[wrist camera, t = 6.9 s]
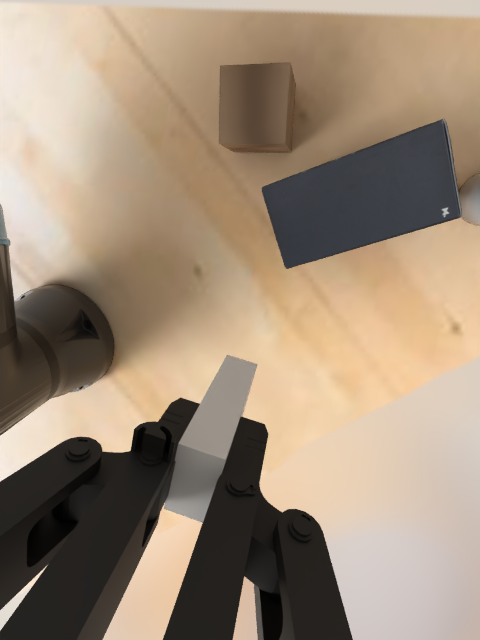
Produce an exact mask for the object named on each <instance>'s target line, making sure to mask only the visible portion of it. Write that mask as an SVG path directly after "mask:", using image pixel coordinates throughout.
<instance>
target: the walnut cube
mask: <svg viewBox="0 0 480 640" xmlns="http://www.w3.org/2000/svg"><path fill="white" fill-rule="evenodd" d="M295 88H296V84H295V80H294V76H293V72H292V67H291V63H271V64H248V65H226V66H220V112H219V144H221V145H223V146H225V147H226V148H228V149H230V150H232V151H233V152H291V144H292V130H293V116H294V102H295Z"/></svg>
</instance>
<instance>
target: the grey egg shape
mask: <svg viewBox="0 0 480 640" xmlns="http://www.w3.org/2000/svg"><path fill="white" fill-rule="evenodd" d="M459 197H460V202H461V208H462V216H461V217H462V218H463V219H464V220H465V221H466V222H468V223H470V224H474V225H479V226H480V173H478V174H476V175H474V176H472V177H471V178H469V179H468V180H467V181H466V182H465V183H464V184H463V186H462V187H461V189H460V191H459Z"/></svg>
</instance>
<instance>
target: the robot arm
mask: <svg viewBox="0 0 480 640" xmlns="http://www.w3.org/2000/svg"><path fill="white" fill-rule="evenodd" d="M9 245H10V240H9V239H8V238H7V233H6V227H5V222H4V216H3V210H2V206H1V204H0V435H2V434H3V433H4V432H6V431H7V430H8V429H10V428H11V427H12V426H14V425H15V424H17V423H18V422H19V421H21V420H22V419H23V418H25V417H26V416H27V415H29V414H30V413H31V412H33V411H34V410H35V409H37V408H38V407H39V406H41V405H42V404H43V403H45V402H46V401H48V400H49V399H51V398H54V397H58V396H61V395H64V394H67V393H69V392H75V391H79V390H82V389H85V388H87V387H89V386H90V385H92V384H93V383H95V382H96V381H97V380H98V379H100V378H101V377H102V376H103V375H104V374H105V373H106V372H107V370H108V369H109V367H110V365H111V363H112V359H113V354H114V341H113V335H112V332H111V329H110V326H109V324H108V322H107V320H106V318H105V316H104V314H103V313H102V312H101V310H100V309H99V308H98V307H97V305H96V304H95V303H94V302H93V301H92V300H90V299H89V298H88V297H87V296H85V295H84V294H82V293H81V292H79V291H77V290H75V289H73V288H70V287H67V286H63V285H47V286H43V287H39V288H36V289H33V290H30V291H28V292H26V293H24V294H23V295H21V296H20V297H19V298H18V299H17V300H16V301H15V302H14V296H13V287H12V278H11V268H10V257H9ZM256 368H257V364H255V363H252V362H249V361H245V360H242V359H239V358H236V357H233V356H229V355H227V356H226V358H225V360H224V362H223V363H222V365H221V367H220V369H219V371H218V372H217V374H216V376H215V378H214V380H213V382H212V383H211V385H210V387H209V389H208V391H207V392H206V394H205V396H204V398H203V400H202V402H201V403H200V404H198V403H195V402H192V401H189V400H186V399H183V398H179V399H178V400H176V401H174V402H172V403H171V404H170V405H169V407H168V408H167V410H166V411H165V413H164V414H163V415H162V417H161V419H160V420H159V421H158V422H146V423H143V424H140V425H139V426H137V427H136V428H135V429H134V434H133V440H132V447H131V451H129V452H124V453H113V452H102V447H101V445H100V444H99V443H98V442H97V441H96V440H94V439H91V438H89V437H75V438H70V439H68V440H66V441H64V442H62V443H60V444H59V445H57V446H56V447H54V448H52V449H51V450H49V451H48V452H46V453H45V454H43V455H42V456H40V457H38V458H37V459H35V460H34V461H32V462H31V463H29V464H27V465H26V466H24V467H23V468H21V469H20V470H18V471H16V472H15V473H13V474H12V475H10V476H9V477H7V478H5V479H4V480H2V481H1V482H0V610H1V609H2V608H3V607H4V606H5V605H6V604H7V603H8V602H9V601H10V600H11V599H12V598H13V597H14V596H15V595H16V594H17V593H19V592H20V591H21V590H22V589H23V588H24V587H25V586H26V585H27V584H28V583H29V582H30V581H31V580H32V579H33V578H34V577H35V576H36V575H37V574H38V573H39V572H40V571H42V570H43V569H44V568H45V567H46V566H47V565H48V566H47V567H46V568H45V570H44V571H43V573H42V574H41V575H40V577H39V578H38V580H37V581H36V582H35V584H34V585H33V586H32V588H31V589H30V591H29V592H28V593H27V595H26V596H25V598H24V599H23V600H22V602H21V603H20V604H19V606H18V607H17V609H16V610H15V612H14V613H13V614H12V616H11V617H10V618H9V620H8V621H7V623H6V624H5V625H4V627H3V628H2V629H1V631H0V640H102V639H103V637H104V635H105V633H106V631H107V629H108V627H109V624H110V622H111V620H112V618H113V616H114V614H115V612H116V610H117V608H118V605H119V603H120V601H121V599H122V597H123V595H124V593H125V591H126V589H127V587H128V585H129V582H130V580H131V578H132V576H133V574H134V572H135V570H136V568H137V566H138V563H139V561H140V559H141V557H142V555H143V553H144V551H145V549H146V547H147V544H148V542H149V540H150V538H151V536H152V534H153V532H154V530H155V528H156V526H157V523H158V519H159V515H160V511H161V509H162V507H163V505H164V503H165V506H164V509H166V510H169V511H172V512H175V513H177V514H180V515H183V516H186V517H188V518H191V519H194V520H197V521H200V522H202V523H203V524H202V527H201V530H200V533H199V536H198V539H197V541H196V544H195V547H194V550H193V553H192V556H191V559H190V562H189V565H188V568H187V571H186V574H185V577H184V580H183V582H182V585H181V588H180V591H179V594H178V597H177V600H176V603H175V606H174V609H173V612H172V615H171V617H170V620H169V624H168V627H167V630H166V633H165V635H164V638H163V640H232V639H233V634H234V628H235V623H236V618H237V612H238V607H239V601H240V596H241V590H242V585H243V579H244V576H245V577H246V578H247V579H249V580H250V581H251V582H253V583H254V591H255V604H256V605H255V606H256V620H257V633H258V640H353V639H352V635H351V632H350V628H349V625H348V621H347V617H346V614H345V610H344V606H343V603H342V599H341V596H340V592H339V588H338V585H337V581H336V578H335V574H334V570H333V567H332V563H331V560H330V556H329V552H328V549H327V545H326V542H325V538H324V534H323V531H322V530H321V527H320V525H319V524H318V522H317V521H316V520H315V519H314V518H313V517H312V516H310V515H309V514H307V513H306V512H304V511H301V510H297V509H288V510H286V511H284V512H283V513H282V512H280V511H279V510H277V509H276V508H275V507H273V506H272V505H271V504H270V503H268V502H267V500H265V498H264V497H263V495H262V493H261V491H260V487H259V481H260V476H261V470H262V465H263V460H264V454H265V449H266V443H267V438H268V432H267V429H266V427H265V424H262V423H259V422H256V421H253V420H250V419H247V418H244V417H242V415H243V412H244V408H245V405H246V402H247V398H248V395H249V391H250V388H251V385H252V381H253V378H254V374H255V371H256ZM165 501H166V502H165Z"/></svg>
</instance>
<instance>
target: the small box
mask: <svg viewBox="0 0 480 640" xmlns="http://www.w3.org/2000/svg"><path fill="white" fill-rule="evenodd" d="M262 192H263V196H264V200H265V203H266V206H267V209H268V213H269V216H270V219H271V222H272V226H273V229H274V233H275V236H276V240H277V243H278V246H279V249H280V252H281V256H282V259H283V262H284V266H285V267H286V269H289V268H292V267H295V266H298V265H301V264H305V263H308V262H312V261H316V260H319V259H322V258H326V257H329V256H333V255H335V254H339V253H342V252H346V251H349V250H353V249H356V248H360V247H363V246H366V245H370V244H373V243H376V242H380V241H383V240H387V239H390V238H393V237H397V236H400V235H403V234H407V233H410V232H413V231H416V230H420V229H424V228H427V227H430V226H434V225H437V224H441V223H444V222H447V221H451V220H454V219H457V218H460V217H461V216H462V208H461V202H460V197H459V191H458V186H457V179H456V174H455V168H454V159H453V154H452V147H451V140H450V136H449V132H448V127H447V123H446V121H445V119H442V120H439V121H437V122H434V123H431V124H428V125H425V126H423V127H419V128H417V129H414V130H412V131H409V132H407V133H404V134H401V135H399V136H396V137H393V138H391V139H388V140H386V141H383V142H380V143H378V144H375V145H373V146H370V147H367V148H365V149H362V150H359V151H357V152H354V153H351V154H349V155H346V156H344V157H341V158H338V159H336V160H333V161H330V162H327V163H325V164H322V165H319V166H317V167H314V168H311V169H309V170H306V171H304V172H300V173H298V174H296V175H293V176H290V177H287V178H285V179H282V180H280V181H277V182H274V183H272V184H269V185H267V186H264V187H263V188H262Z"/></svg>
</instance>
